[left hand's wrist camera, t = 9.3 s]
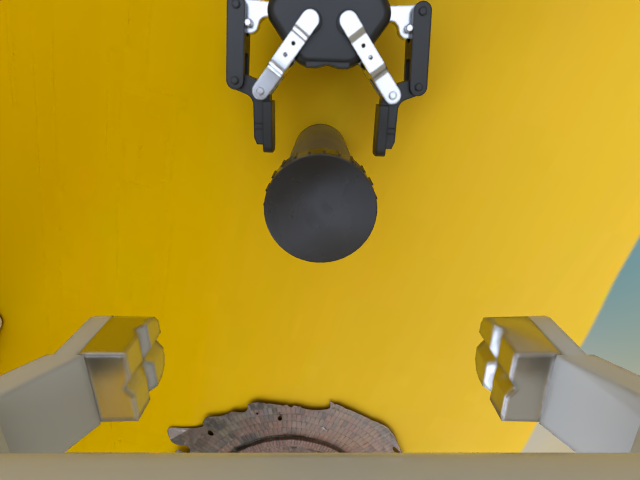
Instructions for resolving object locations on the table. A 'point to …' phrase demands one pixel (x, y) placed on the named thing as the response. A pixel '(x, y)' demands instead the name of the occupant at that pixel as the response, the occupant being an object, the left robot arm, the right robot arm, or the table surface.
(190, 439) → the sculpture
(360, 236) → the lid
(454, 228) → the table surface
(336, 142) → the dark grey cylinder
